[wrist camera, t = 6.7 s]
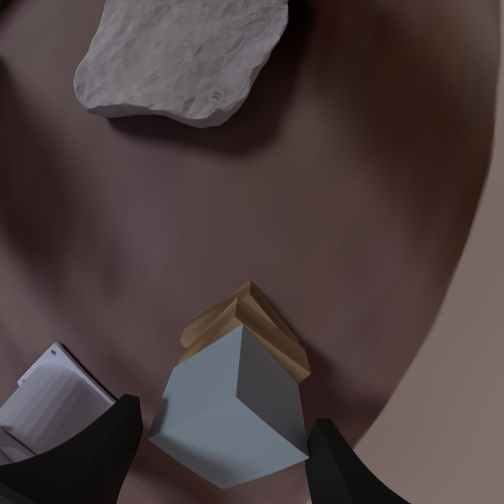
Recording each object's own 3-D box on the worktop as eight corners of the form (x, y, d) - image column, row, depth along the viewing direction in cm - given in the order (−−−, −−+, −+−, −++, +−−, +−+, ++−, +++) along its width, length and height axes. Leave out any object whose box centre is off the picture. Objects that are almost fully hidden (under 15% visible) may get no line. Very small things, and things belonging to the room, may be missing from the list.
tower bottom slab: (236, 373, 20) (234, 395, 18) (187, 322, 19) (179, 341, 17) (298, 337, 19) (302, 357, 17) (250, 278, 18) (249, 294, 16)
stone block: (288, -11, 15) (145, -39, 12) (312, -44, 10) (136, -76, 8) (241, 144, 18) (87, 115, 16) (255, 146, 14) (55, 110, 11)
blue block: (230, 418, 16) (222, 489, 11) (173, 367, 15) (146, 438, 10) (297, 383, 15) (309, 457, 10) (242, 323, 14) (235, 396, 9)
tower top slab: (247, 397, 18) (246, 423, 16) (182, 353, 17) (173, 377, 15) (305, 349, 17) (310, 373, 15) (237, 296, 16) (234, 316, 14)
